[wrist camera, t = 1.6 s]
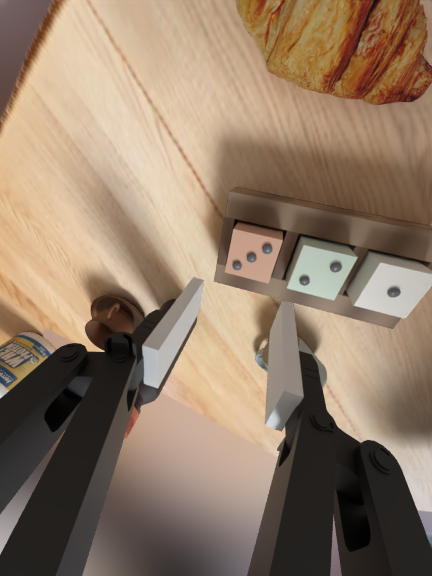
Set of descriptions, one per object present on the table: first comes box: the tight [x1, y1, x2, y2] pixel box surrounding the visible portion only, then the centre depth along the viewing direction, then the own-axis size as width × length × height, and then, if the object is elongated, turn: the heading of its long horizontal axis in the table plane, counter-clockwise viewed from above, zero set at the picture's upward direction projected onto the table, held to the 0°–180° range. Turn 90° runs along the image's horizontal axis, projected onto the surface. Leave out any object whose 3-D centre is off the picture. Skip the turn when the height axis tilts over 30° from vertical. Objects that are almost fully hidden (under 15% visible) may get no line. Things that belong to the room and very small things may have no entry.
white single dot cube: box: [345, 250, 432, 319], centre depth 22 cm, size 5×5×4 cm
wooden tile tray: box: [214, 187, 432, 329], centre depth 26 cm, size 22×11×5 cm, turn 81°
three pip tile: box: [225, 221, 283, 284], centre depth 24 cm, size 5×5×4 cm
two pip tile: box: [286, 235, 358, 300], centre depth 23 cm, size 5×5×4 cm
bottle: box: [124, 300, 197, 439], centre depth 31 cm, size 7×7×20 cm
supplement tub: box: [0, 332, 56, 398], centre depth 50 cm, size 12×12×17 cm
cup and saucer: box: [85, 295, 144, 351], centre depth 41 cm, size 12×12×6 cm
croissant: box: [236, 0, 432, 105], centre depth 16 cm, size 21×10×8 cm, turn 58°
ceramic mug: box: [255, 336, 327, 388], centre depth 34 cm, size 10×8×7 cm
